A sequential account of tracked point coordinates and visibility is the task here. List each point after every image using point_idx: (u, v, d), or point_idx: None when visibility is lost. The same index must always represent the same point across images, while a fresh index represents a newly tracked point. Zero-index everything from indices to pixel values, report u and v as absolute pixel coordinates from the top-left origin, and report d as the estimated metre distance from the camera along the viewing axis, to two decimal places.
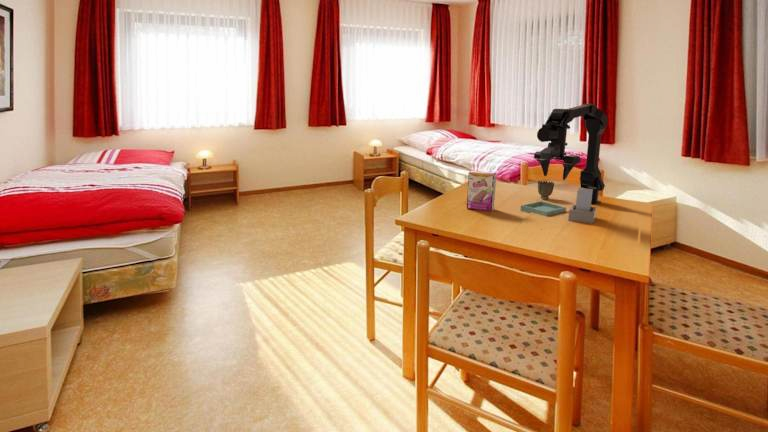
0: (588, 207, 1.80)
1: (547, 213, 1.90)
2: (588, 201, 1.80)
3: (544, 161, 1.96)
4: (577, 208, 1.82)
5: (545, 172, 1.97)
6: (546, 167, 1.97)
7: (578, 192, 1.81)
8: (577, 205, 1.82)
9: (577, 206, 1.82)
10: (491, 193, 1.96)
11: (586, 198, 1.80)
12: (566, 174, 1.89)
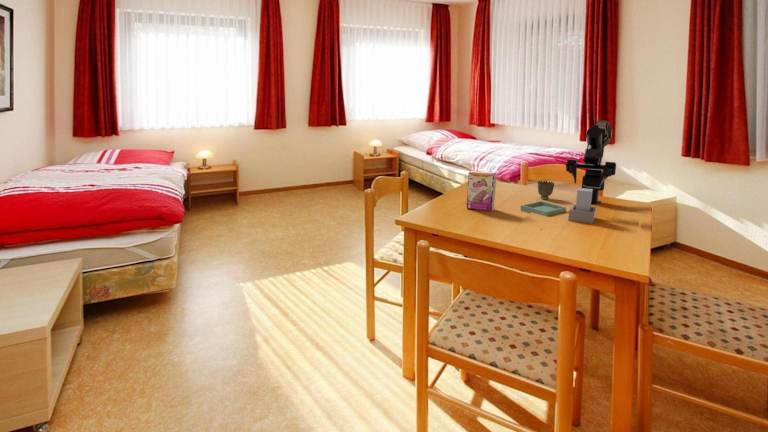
0: (588, 207, 1.80)
1: (547, 213, 1.90)
2: (588, 201, 1.80)
3: (576, 169, 1.92)
4: (577, 208, 1.82)
5: None
6: (576, 176, 1.92)
7: (578, 192, 1.81)
8: (577, 205, 1.82)
9: (577, 206, 1.82)
10: (491, 193, 1.96)
11: (586, 198, 1.80)
12: (602, 180, 1.86)
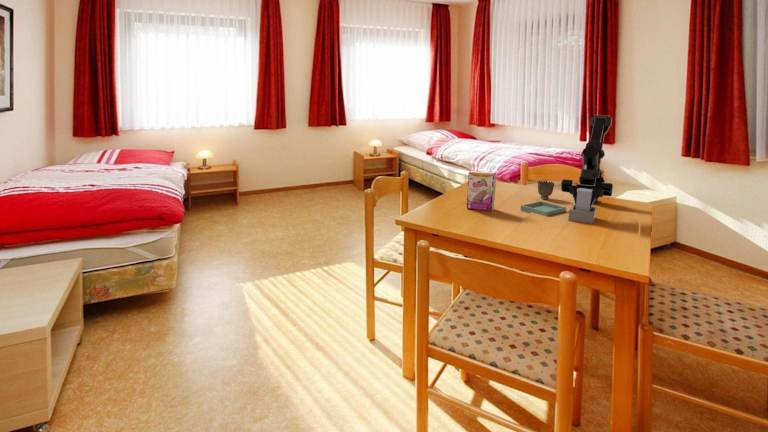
0: (588, 207, 1.80)
1: (547, 213, 1.90)
2: (588, 201, 1.80)
3: None
4: (577, 208, 1.82)
5: None
6: None
7: (578, 192, 1.81)
8: (577, 205, 1.82)
9: (577, 206, 1.82)
10: (491, 193, 1.96)
11: (586, 198, 1.80)
12: (593, 201, 1.81)
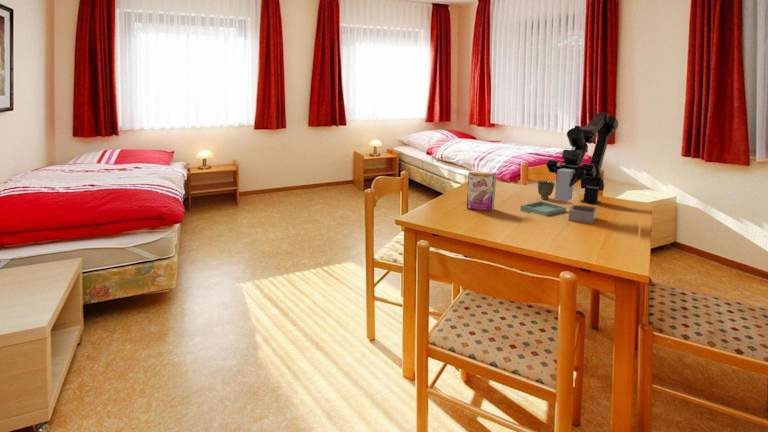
0: (567, 187, 1.84)
1: (547, 213, 1.90)
2: (567, 181, 1.83)
3: None
4: (557, 188, 1.87)
5: None
6: None
7: (558, 172, 1.85)
8: (557, 185, 1.86)
9: (557, 186, 1.86)
10: (491, 193, 1.96)
11: (565, 177, 1.83)
12: (574, 181, 1.84)
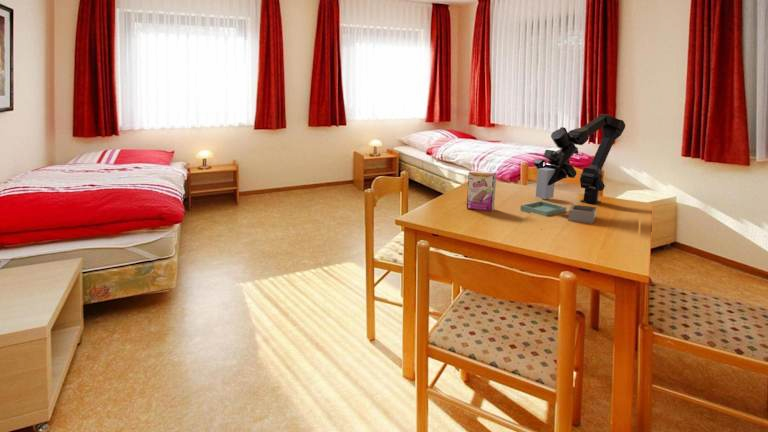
0: (545, 185, 1.92)
1: (547, 213, 1.90)
2: (545, 179, 1.92)
3: None
4: (537, 186, 1.96)
5: None
6: None
7: (538, 170, 1.94)
8: (537, 183, 1.95)
9: (537, 184, 1.95)
10: (491, 193, 1.96)
11: (543, 176, 1.92)
12: (553, 180, 1.92)
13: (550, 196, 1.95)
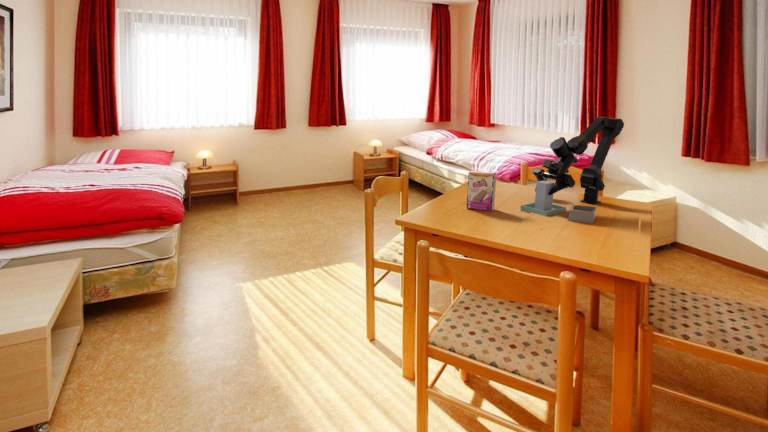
0: (543, 198, 1.94)
1: (547, 213, 1.90)
2: (543, 192, 1.93)
3: (542, 178, 1.99)
4: (536, 198, 1.97)
5: None
6: None
7: (537, 183, 1.95)
8: (536, 195, 1.97)
9: (536, 196, 1.97)
10: (491, 193, 1.96)
11: (542, 189, 1.94)
12: (553, 190, 1.92)
13: (549, 209, 1.96)
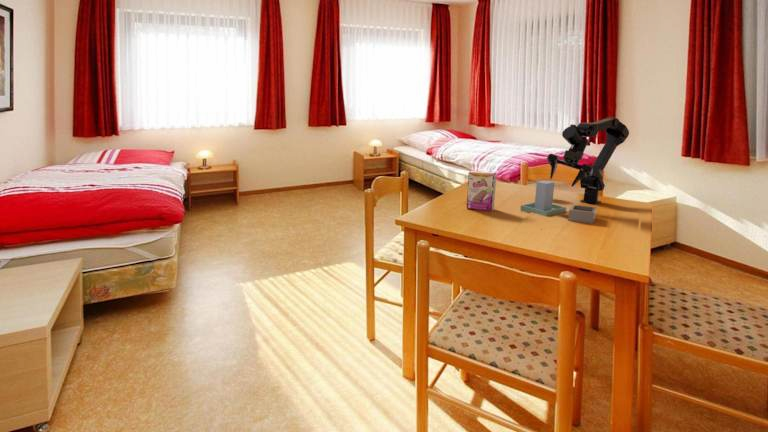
0: (543, 198, 1.94)
1: (547, 213, 1.90)
2: (543, 192, 1.93)
3: (555, 164, 1.99)
4: (536, 198, 1.97)
5: (552, 175, 1.99)
6: (554, 171, 2.00)
7: (537, 183, 1.95)
8: (536, 195, 1.97)
9: (536, 196, 1.97)
10: (491, 193, 1.96)
11: (542, 189, 1.94)
12: (576, 181, 1.95)
13: (549, 209, 1.96)
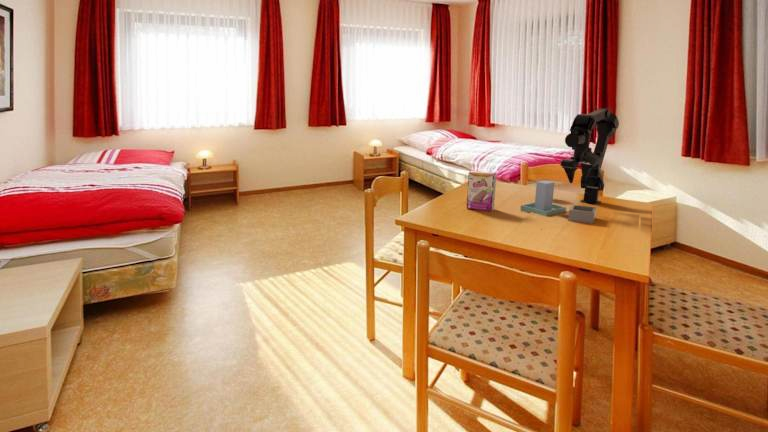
0: (543, 198, 1.94)
1: (547, 213, 1.90)
2: (543, 192, 1.93)
3: None
4: (536, 198, 1.97)
5: None
6: None
7: (537, 183, 1.95)
8: (536, 195, 1.97)
9: (536, 196, 1.97)
10: (491, 193, 1.96)
11: (542, 189, 1.94)
12: None
13: (549, 209, 1.96)
